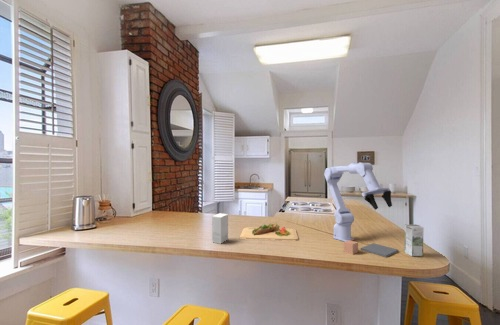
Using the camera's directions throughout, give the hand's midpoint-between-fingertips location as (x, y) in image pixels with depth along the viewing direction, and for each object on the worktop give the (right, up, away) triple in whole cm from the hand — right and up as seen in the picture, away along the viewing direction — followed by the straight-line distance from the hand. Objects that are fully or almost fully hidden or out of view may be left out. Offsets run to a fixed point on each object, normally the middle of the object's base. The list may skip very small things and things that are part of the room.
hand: (383, 207), depth 123 cm
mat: (+1, -23, +6) cm, 24 cm away
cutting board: (-54, -25, +37) cm, 69 cm away
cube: (-14, -24, +5) cm, 28 cm away
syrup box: (+15, -24, +1) cm, 28 cm away
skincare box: (-83, -24, +23) cm, 89 cm away
